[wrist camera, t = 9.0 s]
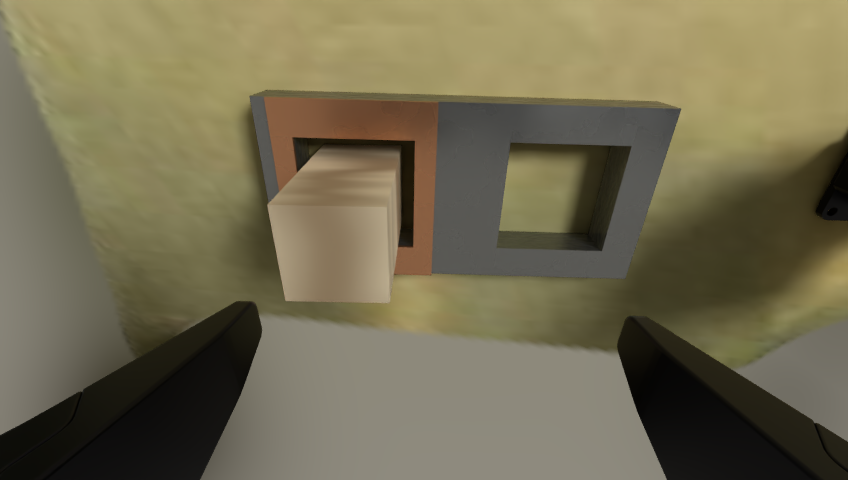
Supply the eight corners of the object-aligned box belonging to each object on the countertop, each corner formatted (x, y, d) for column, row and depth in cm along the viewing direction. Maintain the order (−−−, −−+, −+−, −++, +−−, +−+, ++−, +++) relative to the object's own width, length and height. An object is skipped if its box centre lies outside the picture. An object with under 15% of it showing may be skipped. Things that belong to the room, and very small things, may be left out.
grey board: (657, 101, 19) (683, 109, 17) (610, 259, 23) (626, 280, 21) (266, 90, 19) (247, 96, 17) (291, 250, 23) (279, 270, 21)
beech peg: (401, 145, 20) (386, 207, 13) (402, 215, 22) (389, 303, 15) (324, 143, 20) (267, 204, 13) (331, 214, 22) (285, 300, 15)
